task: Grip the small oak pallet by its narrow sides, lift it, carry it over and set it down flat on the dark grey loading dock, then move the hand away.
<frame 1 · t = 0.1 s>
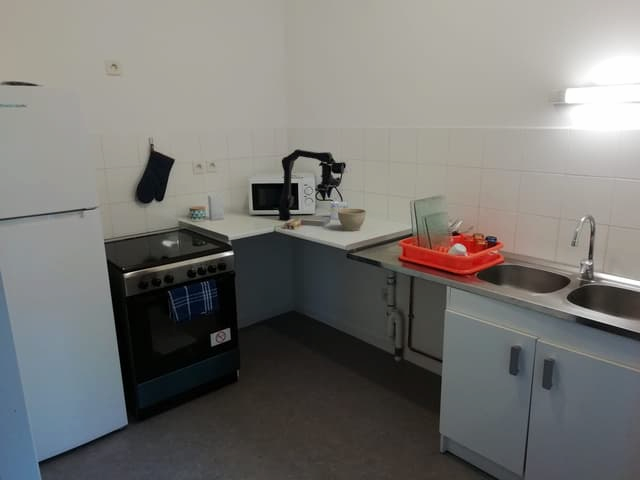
hand: (326, 199, 303), 15 cm above the counter, tool pointing down, fingers open, 9 cm apart
planter bowl: (351, 229, 287), on the counter
light bulb box: (339, 218, 318), on the counter
pallet: (293, 227, 292), on the counter
dock: (314, 223, 304), on the counter
skincare box: (216, 219, 317), on the counter
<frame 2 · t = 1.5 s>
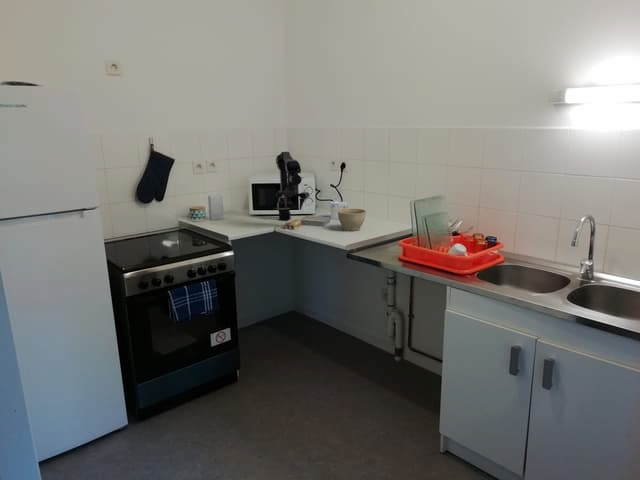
hand: (292, 209, 290), 11 cm above the counter, tool pointing down, fingers open, 9 cm apart
nothing on the counter moved.
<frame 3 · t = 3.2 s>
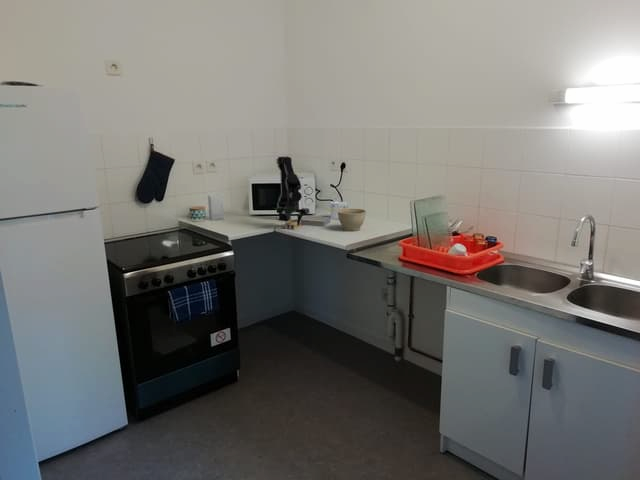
hand: (293, 225, 292), 2 cm above the counter, tool pointing down, fingers closed on pallet, 6 cm apart
pallet: (293, 227, 292), on the counter, touching gripper
everything else where it was.
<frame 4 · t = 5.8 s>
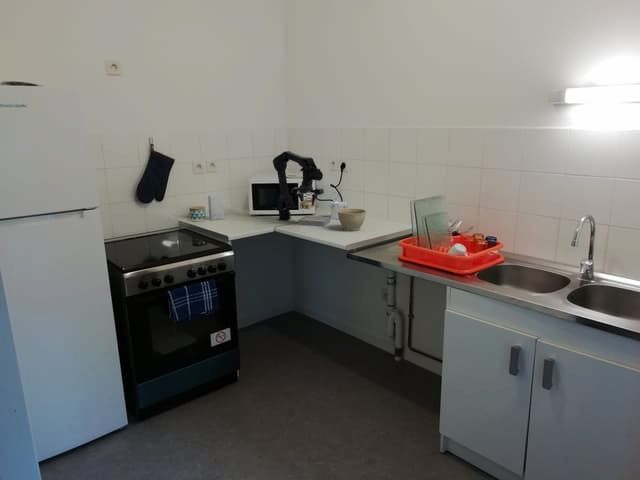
hand: (307, 205, 297), 12 cm above the counter, tool pointing down, fingers closed on pallet, 6 cm apart
pallet: (307, 207, 297), point 10 cm above the counter, touching gripper
everything else where it was.
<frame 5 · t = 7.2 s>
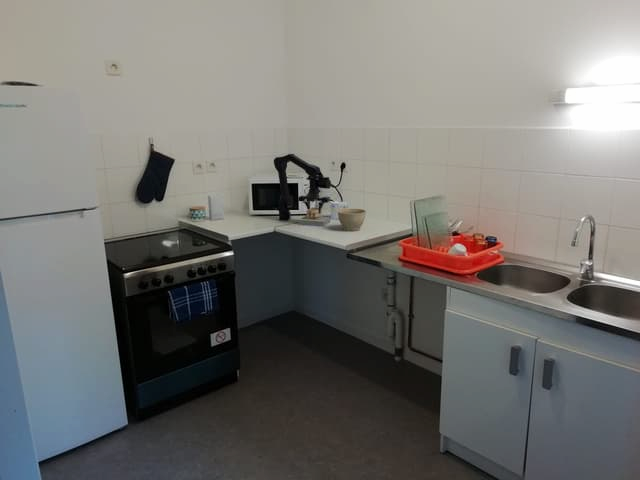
hand: (314, 213, 302), 6 cm above the counter, tool pointing down, fingers closed on pallet, 6 cm apart
pallet: (314, 215, 302), point 5 cm above the counter, touching gripper
everything else where it was.
when the fingers open (6 cm above the counter, at t = 8.2 s): pallet drops 1 cm, resting on dock.
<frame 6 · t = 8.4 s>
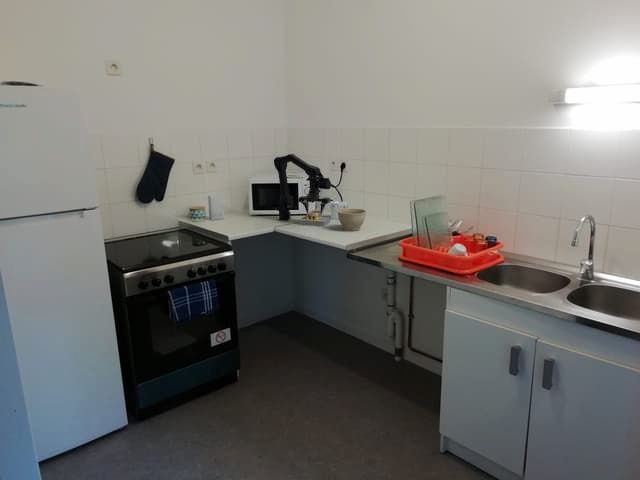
hand: (314, 213, 302), 6 cm above the counter, tool pointing down, fingers open, 8 cm apart
pallet: (314, 218, 303), point 3 cm above the counter, touching dock
everything else where it was.
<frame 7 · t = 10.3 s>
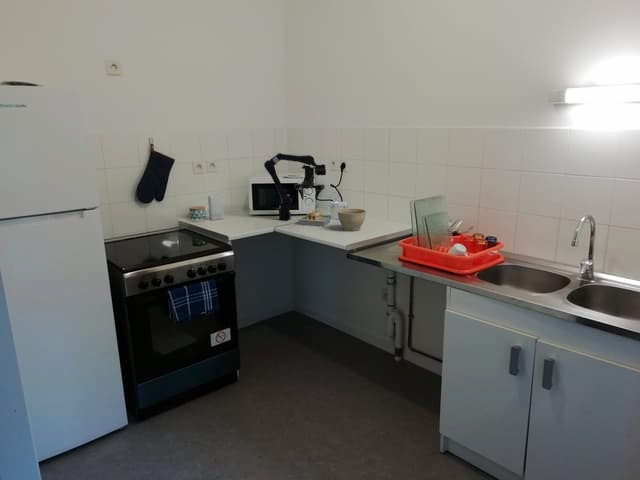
hand: (309, 200, 315), 12 cm above the counter, tool pointing down, fingers open, 9 cm apart
nothing on the counter moved.
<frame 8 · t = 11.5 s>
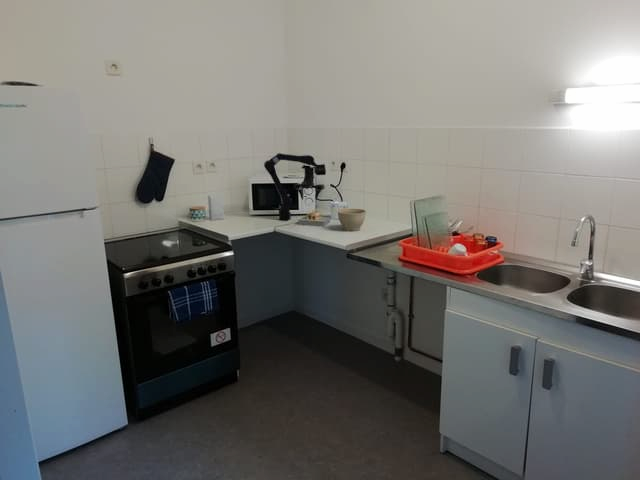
hand: (309, 200, 315), 12 cm above the counter, tool pointing down, fingers open, 9 cm apart
nothing on the counter moved.
at the end: pallet inside the target area on the dock (0.0 cm from its centre), point 3.0 cm above the dock's base; pallet tilted 0°; the gripper is holding nothing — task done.
